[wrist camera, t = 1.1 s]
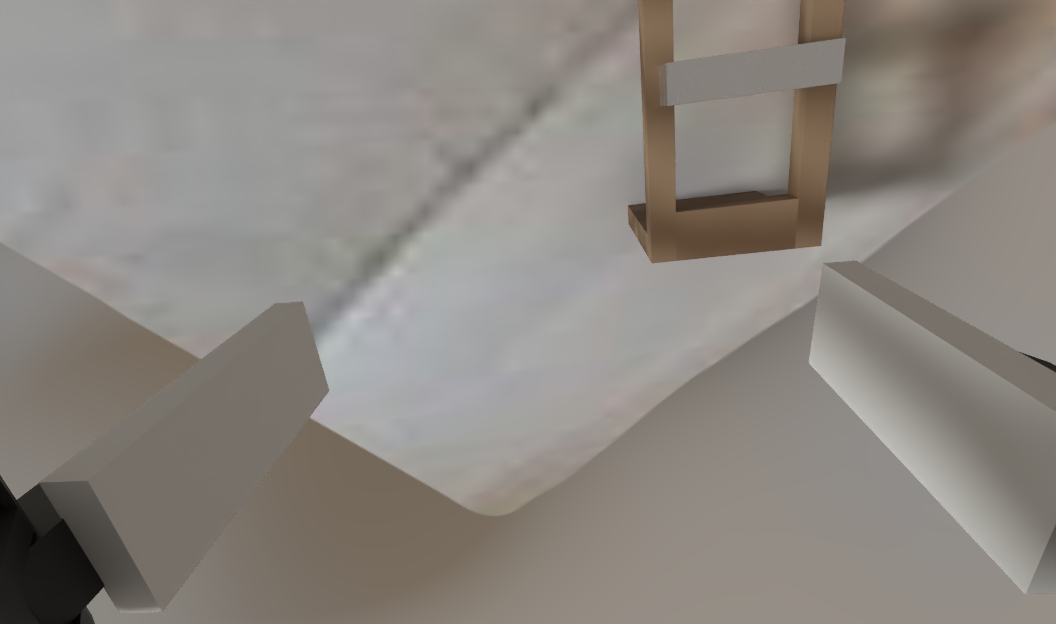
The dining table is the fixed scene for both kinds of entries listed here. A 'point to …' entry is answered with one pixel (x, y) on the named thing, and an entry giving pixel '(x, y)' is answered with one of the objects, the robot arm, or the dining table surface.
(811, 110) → the brown frame with crossbar
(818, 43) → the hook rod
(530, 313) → the dining table surface
